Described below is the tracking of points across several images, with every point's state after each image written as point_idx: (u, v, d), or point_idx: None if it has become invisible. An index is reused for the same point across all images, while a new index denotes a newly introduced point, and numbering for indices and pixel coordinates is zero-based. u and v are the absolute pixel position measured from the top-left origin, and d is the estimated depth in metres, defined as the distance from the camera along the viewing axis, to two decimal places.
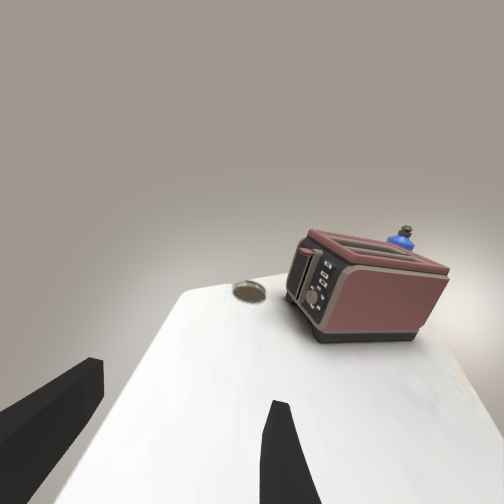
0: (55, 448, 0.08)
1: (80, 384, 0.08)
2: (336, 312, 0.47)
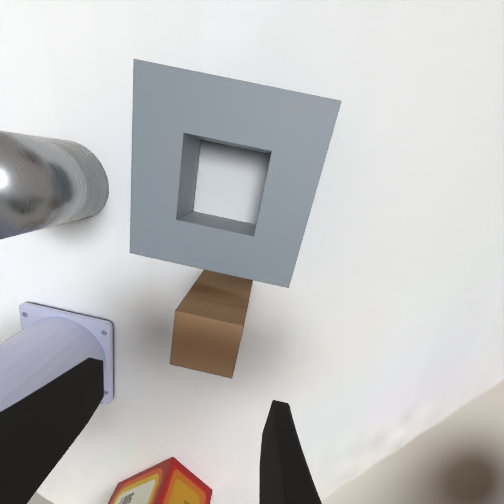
0: (55, 448, 0.08)
1: (80, 384, 0.08)
2: None
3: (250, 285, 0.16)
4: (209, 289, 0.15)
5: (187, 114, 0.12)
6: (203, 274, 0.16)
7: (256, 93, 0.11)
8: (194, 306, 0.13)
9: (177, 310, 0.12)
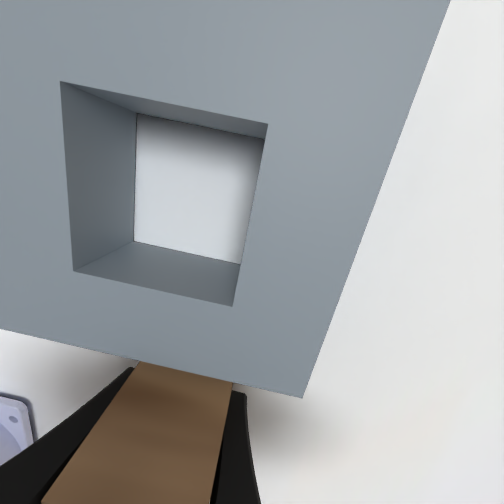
0: None
1: None
2: None
3: None
4: (151, 397, 0.08)
5: (61, 33, 0.05)
6: None
7: None
8: (99, 470, 0.06)
9: (48, 498, 0.05)
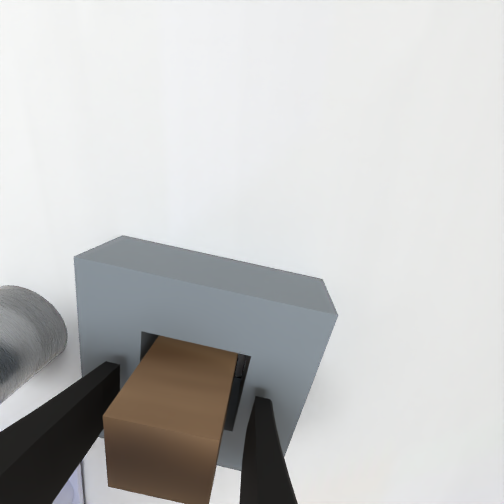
0: (75, 453, 0.08)
1: (99, 389, 0.08)
2: None
3: None
4: (174, 355, 0.10)
5: (144, 314, 0.09)
6: None
7: (230, 300, 0.09)
8: (141, 399, 0.08)
9: (107, 414, 0.07)
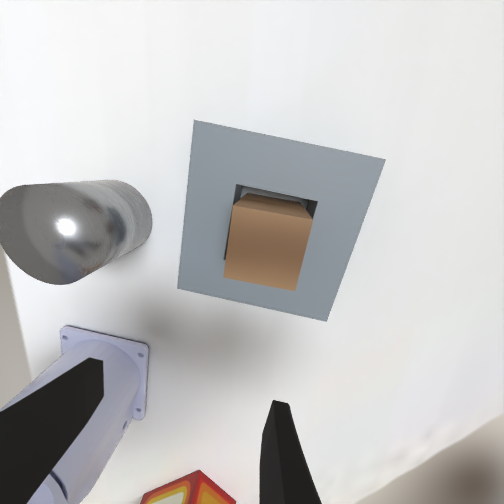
0: (55, 448, 0.08)
1: (80, 384, 0.08)
2: None
3: (300, 205, 0.15)
4: (260, 201, 0.13)
5: (240, 168, 0.13)
6: (247, 195, 0.15)
7: (306, 151, 0.12)
8: (252, 206, 0.11)
9: (235, 205, 0.11)
